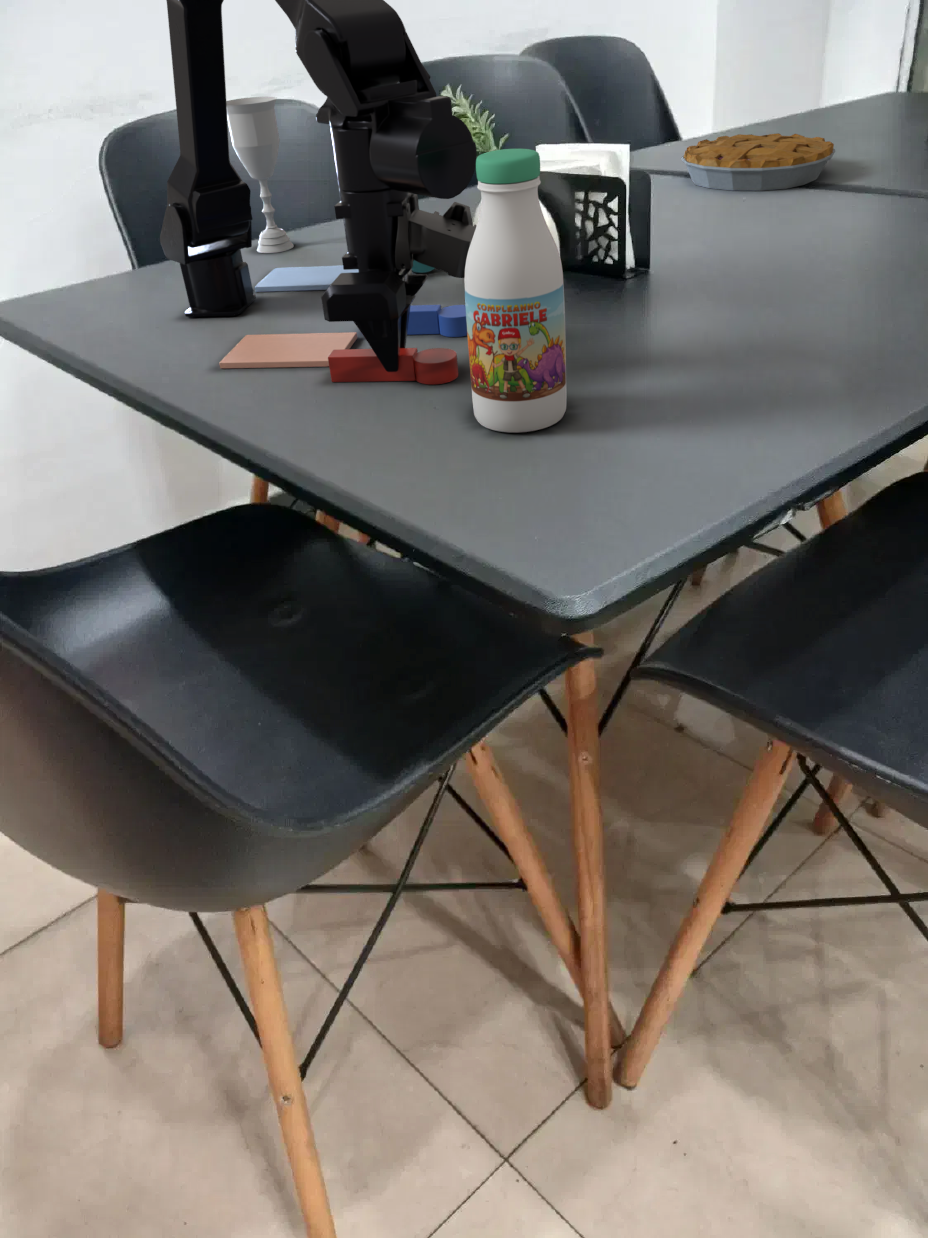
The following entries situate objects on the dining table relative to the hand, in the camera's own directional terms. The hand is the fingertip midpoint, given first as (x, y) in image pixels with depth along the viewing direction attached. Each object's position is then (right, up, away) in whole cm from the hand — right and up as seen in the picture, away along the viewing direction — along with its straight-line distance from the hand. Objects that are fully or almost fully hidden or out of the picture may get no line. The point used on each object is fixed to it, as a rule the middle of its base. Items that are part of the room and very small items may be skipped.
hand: (395, 366), depth 89 cm
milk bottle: (+11, -7, -9) cm, 15 cm away
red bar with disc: (0, -1, +1) cm, 1 cm away
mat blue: (-12, +18, +29) cm, 36 cm away
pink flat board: (-11, +4, +8) cm, 14 cm away
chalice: (-20, +27, +44) cm, 55 cm away
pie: (+50, +43, +57) cm, 87 cm away
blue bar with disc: (+2, +6, +11) cm, 13 cm away
